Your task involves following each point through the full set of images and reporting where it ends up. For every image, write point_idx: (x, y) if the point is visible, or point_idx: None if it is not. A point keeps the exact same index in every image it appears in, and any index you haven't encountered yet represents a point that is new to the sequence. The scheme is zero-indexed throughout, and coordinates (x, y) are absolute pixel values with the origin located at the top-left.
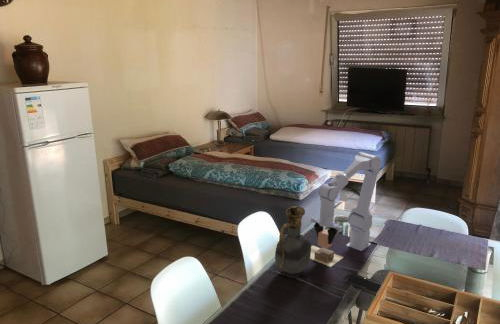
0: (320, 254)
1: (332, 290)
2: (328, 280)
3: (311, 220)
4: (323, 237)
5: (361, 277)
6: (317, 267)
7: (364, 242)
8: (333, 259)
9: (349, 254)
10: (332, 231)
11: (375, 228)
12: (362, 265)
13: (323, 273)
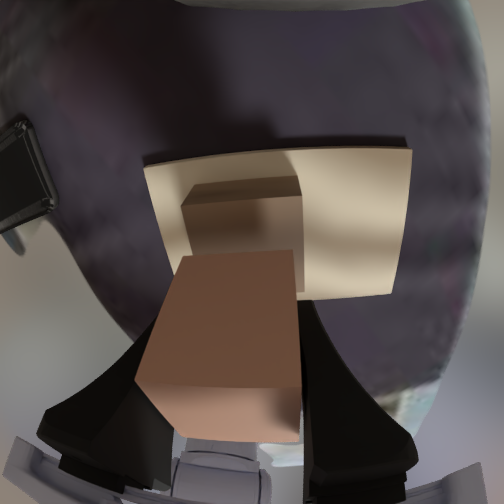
0: (242, 199)
1: (19, 31)
2: (70, 60)
3: (473, 490)
4: (206, 341)
5: (21, 216)
6: (207, 102)
7: None
8: None
9: None
10: (39, 437)
11: (265, 450)
12: (99, 300)
13: (130, 82)
